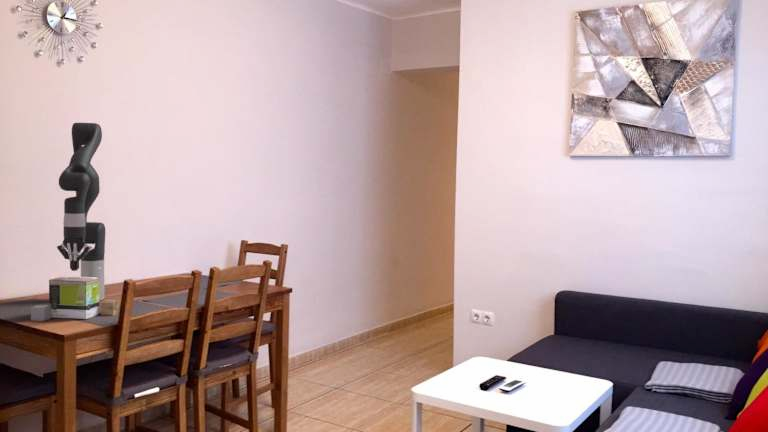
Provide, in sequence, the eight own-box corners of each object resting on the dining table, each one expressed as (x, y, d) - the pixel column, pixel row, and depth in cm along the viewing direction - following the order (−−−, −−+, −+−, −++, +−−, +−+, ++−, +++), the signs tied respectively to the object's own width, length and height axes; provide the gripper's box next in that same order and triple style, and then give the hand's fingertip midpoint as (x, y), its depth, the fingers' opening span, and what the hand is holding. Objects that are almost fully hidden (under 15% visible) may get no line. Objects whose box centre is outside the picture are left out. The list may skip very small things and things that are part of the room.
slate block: (38, 317, 246) (38, 304, 246) (51, 318, 246) (51, 304, 246) (30, 320, 241) (30, 306, 241) (44, 321, 241) (43, 307, 241)
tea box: (100, 314, 255) (100, 276, 254) (86, 320, 245) (85, 281, 244) (63, 312, 256) (63, 274, 255) (48, 317, 246) (48, 279, 245)
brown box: (106, 312, 259) (106, 299, 258) (119, 312, 258) (119, 300, 258) (100, 315, 254) (100, 302, 253) (113, 315, 253) (113, 302, 253)
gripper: (96, 225, 251) (96, 269, 253) (62, 223, 252) (62, 268, 253) (86, 226, 244) (86, 272, 245) (52, 225, 245) (52, 271, 246)
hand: (74, 270), depth 249 cm, fingers closed
